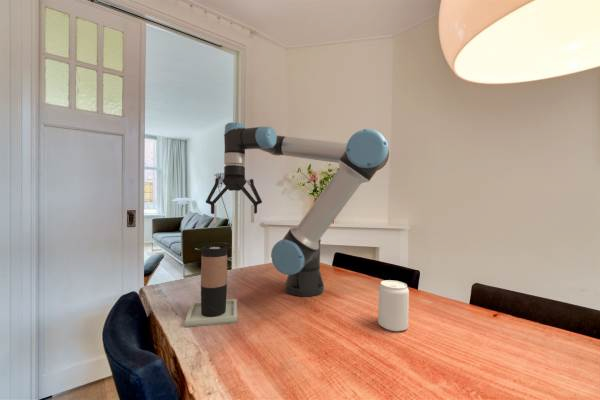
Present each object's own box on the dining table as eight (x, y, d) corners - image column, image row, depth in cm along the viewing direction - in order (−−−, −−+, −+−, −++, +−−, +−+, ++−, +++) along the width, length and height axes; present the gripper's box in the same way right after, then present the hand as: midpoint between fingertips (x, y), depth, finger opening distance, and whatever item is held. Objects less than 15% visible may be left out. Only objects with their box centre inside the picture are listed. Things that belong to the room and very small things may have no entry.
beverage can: (407, 322, 80) (408, 281, 80) (408, 335, 72) (409, 290, 72) (378, 317, 82) (379, 278, 82) (377, 329, 75) (378, 286, 75)
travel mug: (194, 314, 81) (195, 247, 81) (211, 305, 88) (213, 243, 88) (215, 319, 78) (216, 249, 78) (231, 309, 85) (232, 245, 85)
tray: (236, 303, 91) (236, 299, 91) (237, 322, 78) (237, 317, 78) (192, 307, 88) (192, 302, 88) (184, 327, 74) (184, 321, 74)
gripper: (265, 168, 109) (265, 221, 109) (199, 165, 101) (199, 222, 101) (269, 166, 101) (269, 222, 102) (198, 162, 94) (198, 224, 94)
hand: (234, 222), depth 101 cm, fingers open, 13 cm apart
